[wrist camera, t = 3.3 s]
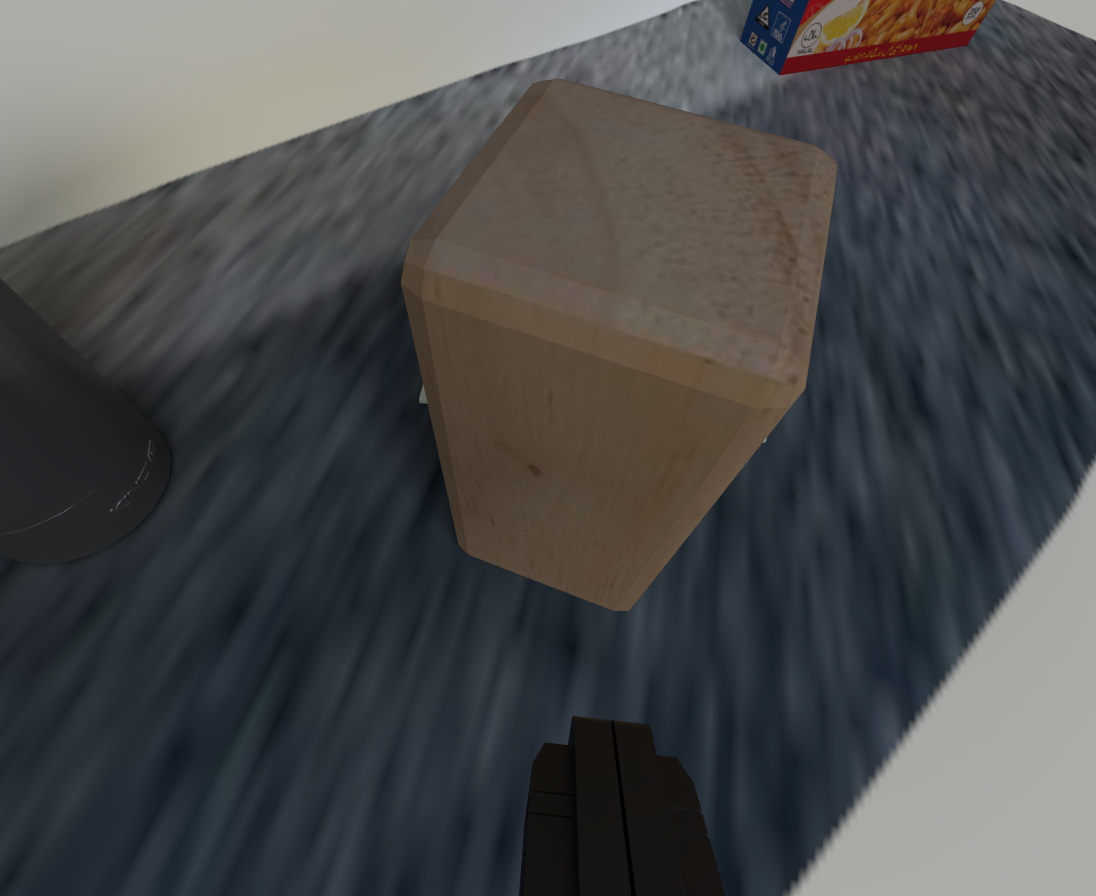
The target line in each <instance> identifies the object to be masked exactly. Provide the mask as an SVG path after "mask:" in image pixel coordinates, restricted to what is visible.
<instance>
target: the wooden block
mask: <svg viewBox="0 0 1096 896" xmlns="http://www.w3.org/2000/svg"><path fill="white" fill-rule="evenodd" d="M836 170H837V163H836V162H835V160H834V159H833V158H832V157H831V156H830V155H829V154H827V153H826V152H824V151H823V150H821V149H820V148H818V147H817V146H816V145H813V144H809V143H805V142H801V141H797V140H793V139H790V138H786V137H782V136H778V135H774V134H770V133H767V132H763V131H759V130H755V129H751V128H747V127H744V126H740V125H736V124H732V123H728V122H724V121H721V120H717V119H713V118H709V117H705V116H702V115H698V114H694V113H690V112H686V111H682V110H679V109H675V108H671V107H667V106H663V105H659V104H656V103H652V102H648V101H644V100H640V99H636V98H633V97H629V96H625V95H621V94H617V93H613V92H610V91H606V90H602V89H598V88H594V87H590V86H587V85H583V84H579V83H575V82H571V81H567V80H564V79H552V80H546V81H540V82H537V83H533V84H532V85H531V86H530V87H529V89H528V90H527V91H526V93H525V94H524V95H523V96H522V98H521V99H520V100H519V102H518V103H517V104H516V105H515V107H514V108H513V109H512V111H511V112H510V113H509V114H508V116H507V117H506V118H505V120H504V121H503V122H502V123H501V125H500V126H499V127H498V129H497V130H496V131H495V132H494V134H493V135H492V136H491V138H490V139H489V140H488V141H487V143H486V144H485V145H484V146H483V148H482V149H481V150H480V152H479V153H478V154H477V155H476V157H475V158H474V159H473V161H472V162H471V163H470V164H469V166H468V167H467V168H466V170H465V171H464V172H463V173H462V175H461V176H460V177H459V179H458V180H457V181H456V182H455V184H454V185H453V186H452V188H451V189H450V190H449V191H448V193H447V194H446V195H445V197H444V198H443V199H442V200H441V202H440V203H439V204H438V206H437V207H436V208H435V209H434V211H433V212H432V213H431V215H430V216H429V217H428V218H427V220H426V221H425V222H424V224H423V225H422V226H421V227H420V229H419V230H418V231H417V233H416V234H415V235H414V236H413V238H412V239H411V240H410V243H409V246H408V250H407V253H406V256H405V259H404V265H403V272H402V279H401V285H402V290H403V294H404V299H405V303H406V308H407V313H408V317H409V322H410V326H411V331H412V335H413V340H414V344H415V349H416V353H417V358H418V362H419V367H420V372H421V376H422V381H423V385H424V390H425V394H426V399H427V403H428V408H429V412H430V417H431V422H432V426H433V431H434V435H435V440H436V444H437V449H438V453H439V458H440V462H441V467H442V471H443V476H444V481H445V485H446V490H447V494H448V499H449V503H450V508H451V512H452V517H453V521H454V526H455V530H456V535H457V540H458V544H459V546H460V547H461V548H462V549H463V550H464V551H465V552H466V553H467V554H468V555H470V556H473V557H475V558H478V559H481V560H483V561H486V562H488V563H491V564H494V565H496V566H499V567H501V568H504V569H506V570H509V571H512V572H514V573H517V574H519V575H522V576H525V577H527V578H530V579H532V580H535V581H538V582H540V583H543V584H545V585H548V586H551V587H553V588H556V589H558V590H561V591H564V592H566V593H569V594H571V595H574V596H577V597H579V598H582V599H584V600H587V601H589V602H592V603H595V604H597V605H600V606H602V607H605V608H608V609H610V610H613V611H629V610H630V609H631V608H632V606H633V605H634V604H635V603H636V602H637V600H638V599H639V598H640V597H641V595H642V594H643V593H644V592H645V590H646V589H647V588H648V587H649V585H650V584H651V583H652V582H653V580H654V579H655V578H656V576H657V575H658V574H659V573H660V571H661V570H662V569H663V568H664V566H665V565H666V564H667V563H668V561H669V560H670V559H671V557H672V556H673V555H674V554H675V552H676V551H677V550H678V549H679V547H680V546H681V545H682V544H683V542H684V541H685V540H686V539H687V537H688V536H689V535H690V533H691V532H692V531H693V530H694V528H695V527H696V526H697V525H698V523H699V522H700V521H701V520H702V518H703V517H704V516H705V514H706V513H707V512H708V511H709V509H710V508H711V507H712V506H713V504H714V503H715V502H716V501H717V499H718V498H719V497H720V496H721V494H722V493H723V492H724V490H725V489H726V488H727V487H728V485H729V484H730V483H731V482H732V480H733V479H734V478H735V477H736V475H737V474H738V473H739V472H740V470H741V469H742V468H743V466H744V465H745V464H746V463H747V461H748V460H749V459H750V458H751V456H752V455H753V454H754V453H755V451H756V450H757V449H758V447H759V446H760V445H761V444H762V442H763V441H764V440H765V439H766V437H767V436H768V435H769V434H770V432H771V431H772V430H773V429H774V427H775V426H776V425H777V423H778V422H779V421H780V420H781V418H782V417H783V416H784V415H785V413H786V412H787V411H788V410H789V408H790V407H791V406H792V404H793V403H794V402H795V401H796V399H797V398H798V397H799V396H800V394H801V393H802V392H803V391H804V389H805V386H806V380H807V373H808V366H809V359H810V352H811V346H812V339H813V332H814V325H815V319H816V312H817V305H818V298H819V291H820V285H821V278H822V271H823V264H824V257H825V251H826V244H827V237H828V230H829V224H830V217H831V210H832V203H833V196H834V190H835V180H836Z"/></svg>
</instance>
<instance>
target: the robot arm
mask: <svg viewBox="0 0 1096 896" xmlns="http://www.w3.org/2000/svg"><path fill="white" fill-rule="evenodd" d="M170 470H171V455H170V449H169V447H168V444H167V442H166V440H165V438H164V437H163V436H162V434H161V433H160V432H159V431H158V430H157V429H156V428H155V427H154V426H153V425H152V424H151V423H150V422H149V421H148V420H147V419H146V418H145V417H144V416H143V415H141V414H140V413H139V412H138V411H137V410H136V409H135V408H134V407H133V406H132V405H131V404H130V403H129V402H128V401H127V400H126V399H125V398H124V397H123V396H122V395H121V394H120V393H119V392H118V391H117V390H116V389H115V388H114V387H113V386H112V385H111V384H110V383H109V382H108V381H107V380H106V379H105V378H104V377H103V376H102V375H100V374H99V373H98V372H97V371H96V370H95V369H94V368H93V367H92V366H91V365H90V364H89V363H88V362H87V361H86V360H85V359H84V358H83V357H82V356H81V355H80V354H79V353H78V352H77V351H76V350H74V349H73V348H72V347H71V346H70V345H69V344H68V343H67V342H66V341H65V340H64V339H63V338H62V337H61V336H60V335H59V334H58V333H57V332H56V331H55V330H54V329H53V328H52V327H51V326H50V325H48V324H47V323H46V322H45V321H44V320H43V319H42V318H41V317H40V316H39V315H38V314H37V313H36V312H35V311H34V310H33V309H32V308H31V307H30V306H29V305H28V304H27V303H26V302H25V301H24V300H22V299H21V298H20V297H19V296H18V295H17V294H16V293H15V292H14V291H13V290H12V289H11V288H10V287H9V286H8V285H7V284H6V283H5V282H4V281H3V280H2V279H1V278H0V555H3V556H5V557H8V558H10V559H13V560H16V561H18V562H21V563H29V564H37V565H44V564H58V563H64V562H68V561H72V560H76V559H80V558H83V557H86V556H88V555H90V554H93V553H95V552H98V551H100V550H103V549H104V548H106V547H108V546H109V545H111V544H113V543H114V542H116V541H118V540H120V539H121V538H123V537H124V536H125V535H127V534H128V533H129V532H130V531H131V530H133V529H134V528H135V527H136V526H138V525H139V524H140V523H141V522H142V521H143V520H144V519H145V517H146V516H147V515H148V514H149V513H150V512H151V511H152V510H153V509H154V507H155V505H156V504H157V502H158V501H159V499H160V498H161V496H162V494H163V493H164V490H165V488H166V485H167V482H168V480H169V477H170ZM519 896H725V893H724V890H723V886H722V882H721V879H720V875H719V872H718V868H717V865H716V861H715V857H714V854H713V850H712V847H711V843H710V839H709V838H708V837H707V829H706V825H705V822H704V818H703V815H701V807H700V804H699V800H698V796H697V793H696V789H695V786H694V782H693V781H692V779H691V778H690V776H689V775H688V773H687V772H686V771H685V769H684V768H683V766H682V765H681V764H680V762H679V761H678V759H677V758H676V757H668V756H659V755H657V754H656V750H655V745H654V740H653V736H652V731H651V728H650V726H649V725H648V724H640V723H632V722H623V721H615V720H612V721H611V722H610V720H604V719H596V718H587V717H578V716H573V717H572V722H571V728H570V734H569V741H568V745H562V744H554V743H544V745H543V746H542V748H541V750H540V752H539V753H538V755H537V757H536V758H535V760H534V762H533V764H532V771H531V779H530V787H529V794H528V802H527V809H526V817H525V825H524V837H523V850H522V864H521V877H520V891H519Z"/></svg>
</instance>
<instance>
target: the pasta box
mask: <svg viewBox="0 0 1096 896" xmlns="http://www.w3.org/2000/svg"><path fill="white" fill-rule="evenodd" d="M994 2H995V0H753V2H752V5H751V8H750V11H749V14H748V18H747V21H746V24H745V27H744V30H743V33H742V36H741V39H740V41H741V42H742V43H743V44H744V45H745V46H746V47H748V48H749V49H750V50H751V51H752V52H753V53H755V54H756V55H757V56H758V57H759V58H760V59H761V60H763V61H764V62H765V63H766V64H767V65H768V66H769V67H771V68H772V69H773V70H774V71H775V72H776V73H778V74H779V75H785V74H791V73H797V72H804V71H810V70H816V69H823V68H829V67H835V66H842V65H848V64H854V63H860V62H867V61H873V60H879V59H886V58H892V57H898V56H905V55H911V54H917V53H923V52H930V51H936V50H942V49H949V48H955V47H961V46H967V44H968V43H969V41H970V40H971V38H972V36H973V35H974V33H975V32H976V30H977V29H978V27H979V26H980V24H981V22H982V21H983V19H984V18H985V16H986V15H987V13H988V11H989V10H990V8H991V7H992V5H993V4H994Z"/></svg>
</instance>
